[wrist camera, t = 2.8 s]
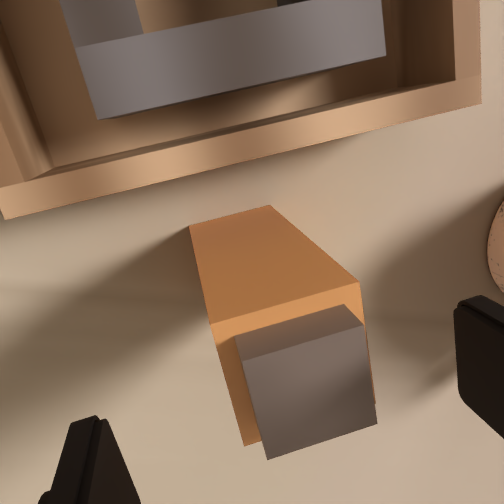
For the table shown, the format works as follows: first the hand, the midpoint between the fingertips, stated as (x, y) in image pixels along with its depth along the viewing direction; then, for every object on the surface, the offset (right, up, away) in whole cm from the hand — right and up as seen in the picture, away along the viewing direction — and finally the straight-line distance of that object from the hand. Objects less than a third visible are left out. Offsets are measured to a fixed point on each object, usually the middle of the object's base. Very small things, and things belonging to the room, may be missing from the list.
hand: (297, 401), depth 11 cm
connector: (-2, +4, +10) cm, 11 cm away
